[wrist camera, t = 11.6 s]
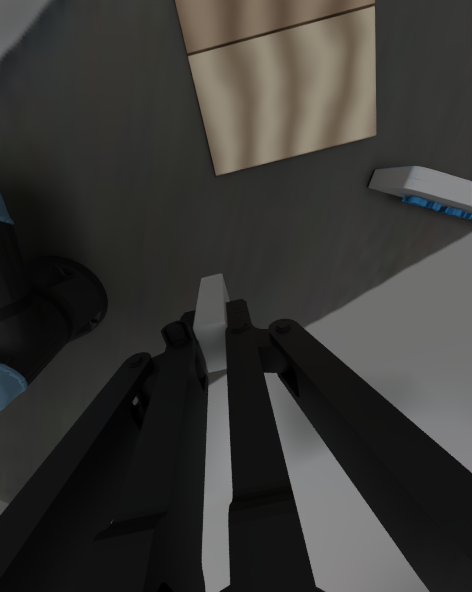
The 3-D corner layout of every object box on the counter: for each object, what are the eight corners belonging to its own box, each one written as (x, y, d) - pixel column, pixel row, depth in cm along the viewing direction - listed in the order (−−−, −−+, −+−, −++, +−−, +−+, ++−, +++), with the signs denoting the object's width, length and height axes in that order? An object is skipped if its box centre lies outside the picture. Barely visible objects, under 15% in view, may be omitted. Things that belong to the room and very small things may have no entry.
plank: (216, 176, 37) (216, 175, 36) (189, 61, 32) (188, 56, 31) (371, 137, 37) (376, 135, 35) (369, 13, 31) (374, 6, 30)
